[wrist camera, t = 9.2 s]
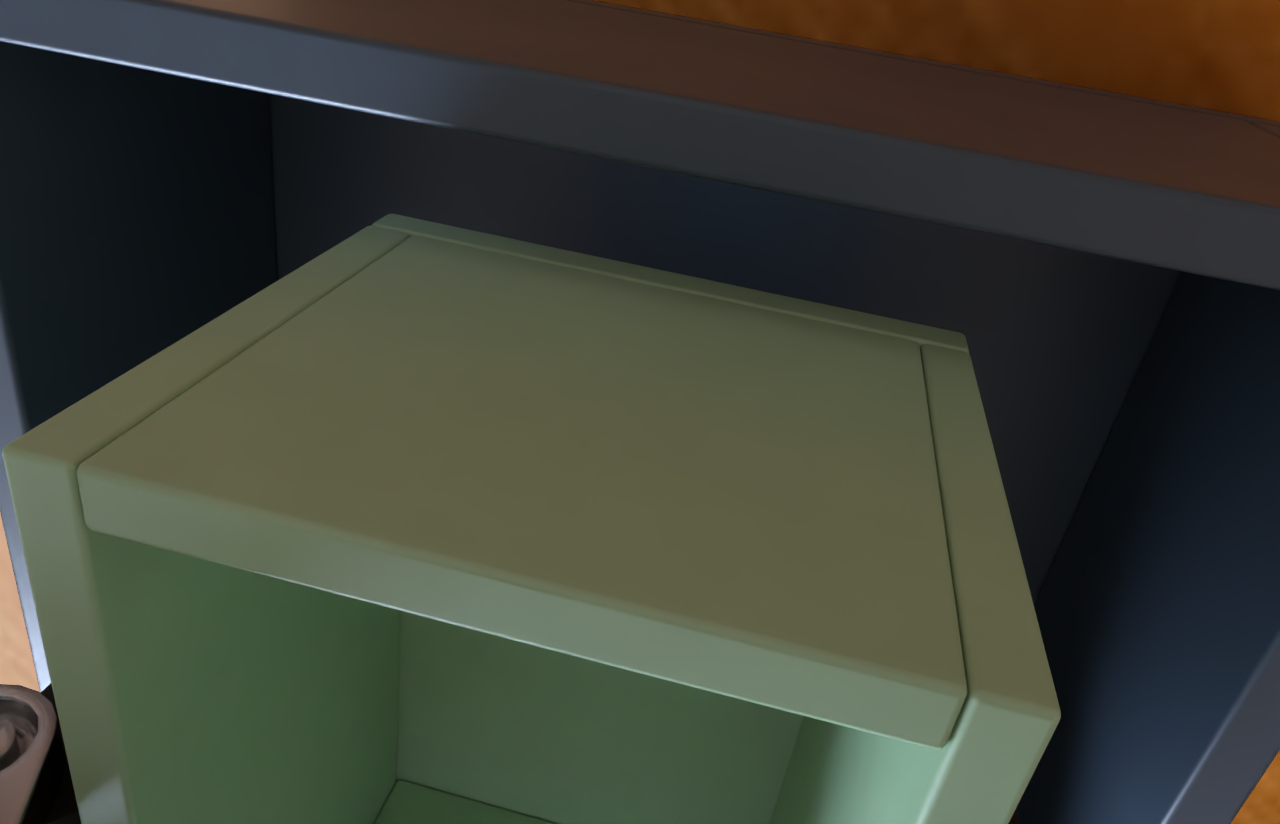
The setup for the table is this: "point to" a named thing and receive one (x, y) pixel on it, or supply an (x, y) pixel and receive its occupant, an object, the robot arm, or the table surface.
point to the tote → (733, 277)
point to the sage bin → (533, 557)
